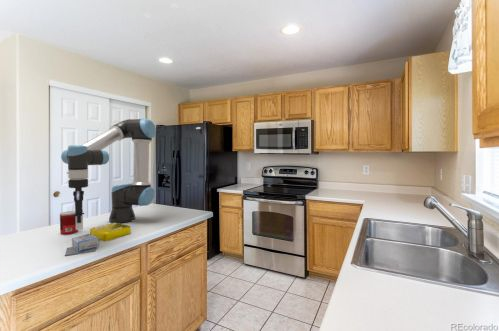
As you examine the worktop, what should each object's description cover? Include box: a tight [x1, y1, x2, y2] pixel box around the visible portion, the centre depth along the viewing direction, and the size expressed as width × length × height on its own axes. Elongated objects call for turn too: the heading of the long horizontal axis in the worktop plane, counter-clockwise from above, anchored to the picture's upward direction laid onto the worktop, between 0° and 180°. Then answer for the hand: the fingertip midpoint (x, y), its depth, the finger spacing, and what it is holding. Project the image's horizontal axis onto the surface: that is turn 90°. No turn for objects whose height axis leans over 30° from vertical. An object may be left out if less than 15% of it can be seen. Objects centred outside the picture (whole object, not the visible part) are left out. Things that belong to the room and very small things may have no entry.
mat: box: [64, 246, 96, 257], centre depth 113 cm, size 11×10×1 cm
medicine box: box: [71, 233, 99, 252], centre depth 115 cm, size 8×4×9 cm
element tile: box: [89, 223, 132, 242], centre depth 134 cm, size 15×15×5 cm
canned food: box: [59, 210, 79, 236], centre depth 137 cm, size 8×8×11 cm
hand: (79, 229), depth 117 cm, fingers closed
